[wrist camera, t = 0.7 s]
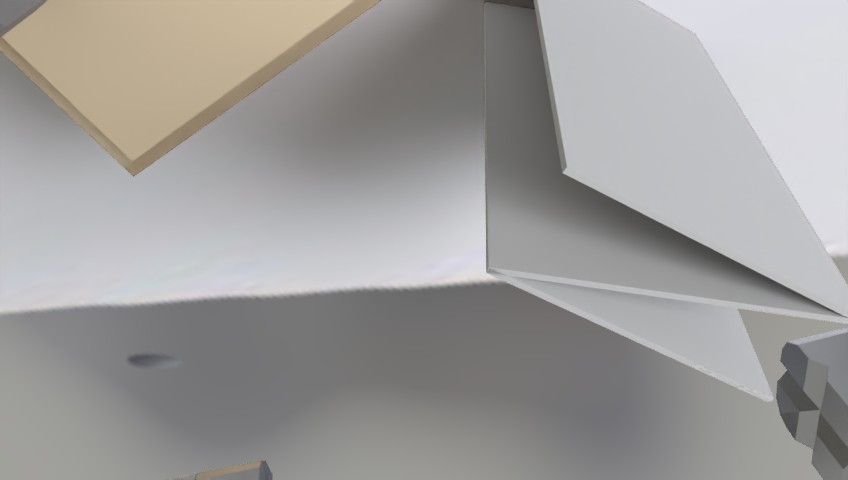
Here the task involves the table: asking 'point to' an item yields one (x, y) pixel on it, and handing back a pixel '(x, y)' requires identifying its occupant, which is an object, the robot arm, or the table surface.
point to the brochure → (640, 186)
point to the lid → (160, 60)
